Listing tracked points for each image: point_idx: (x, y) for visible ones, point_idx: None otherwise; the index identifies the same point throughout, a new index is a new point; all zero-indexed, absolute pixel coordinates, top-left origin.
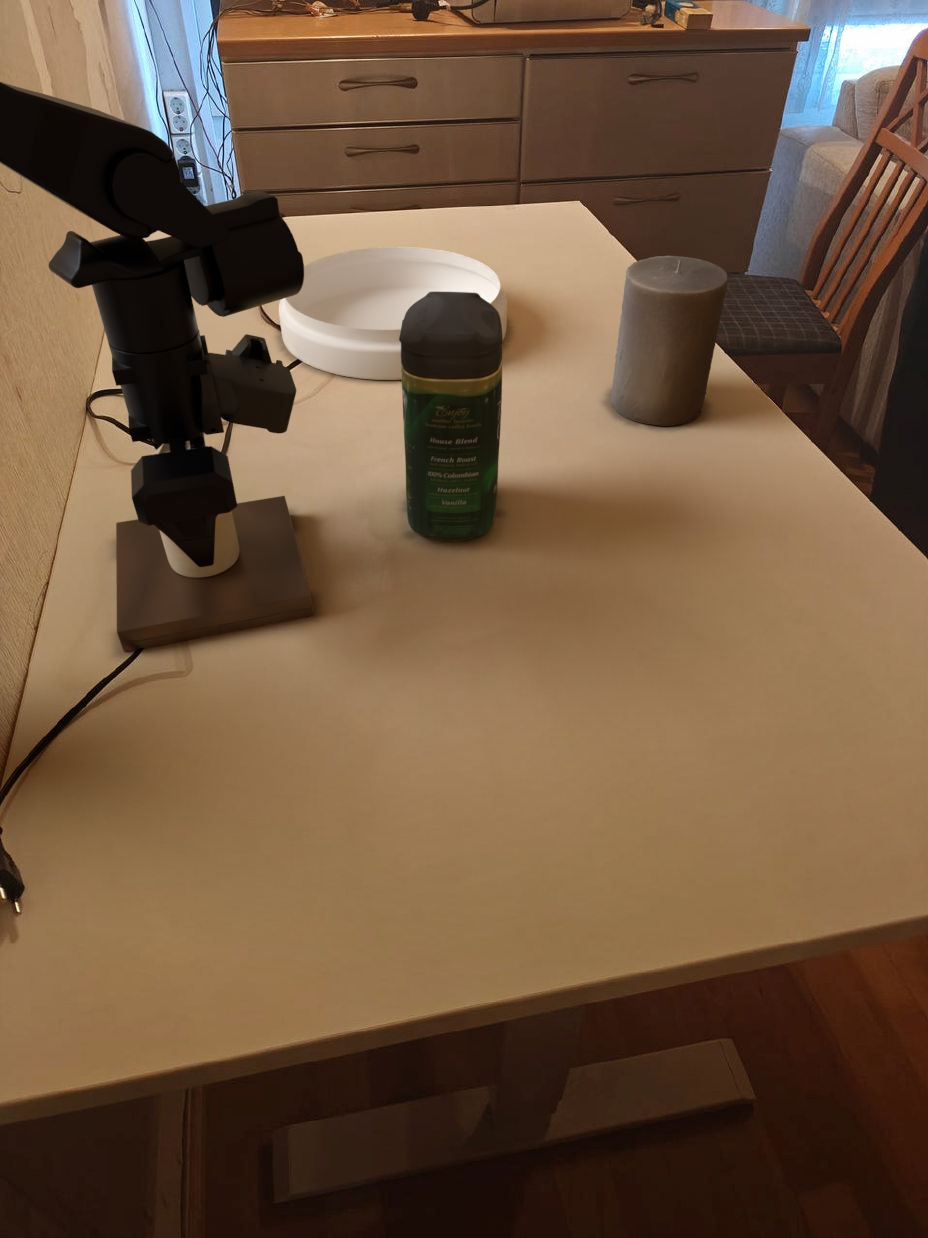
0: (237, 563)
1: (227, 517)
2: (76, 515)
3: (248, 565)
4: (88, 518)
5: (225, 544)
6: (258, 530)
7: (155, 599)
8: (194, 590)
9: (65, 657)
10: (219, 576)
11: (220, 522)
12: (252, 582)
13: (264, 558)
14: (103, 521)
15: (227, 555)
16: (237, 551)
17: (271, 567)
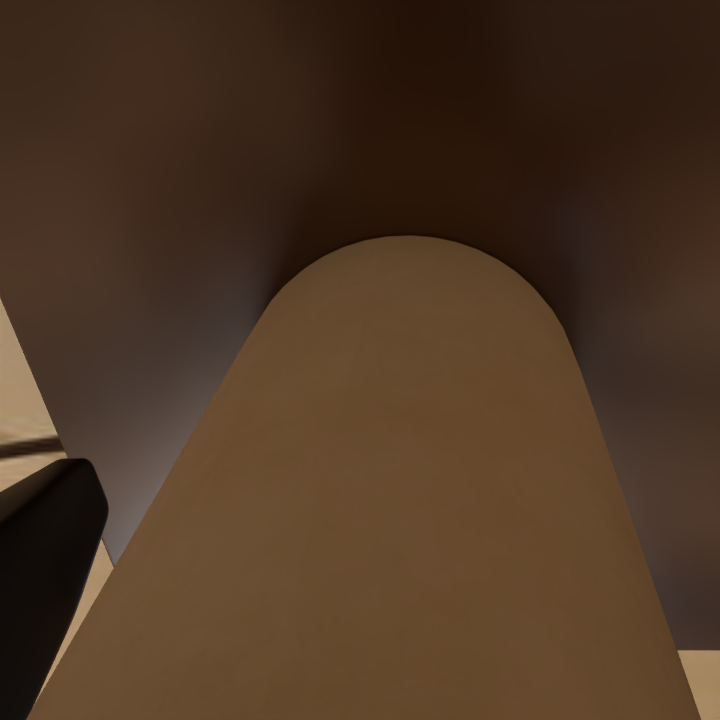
0: (497, 243)
1: (503, 390)
2: (48, 677)
3: (531, 187)
4: (60, 654)
5: (549, 344)
6: (215, 132)
7: (653, 550)
8: (648, 424)
9: (706, 691)
10: (581, 326)
11: (570, 439)
12: (690, 165)
13: (486, 96)
14: (71, 624)
15: (539, 311)
16: (456, 251)
17: (583, 52)
